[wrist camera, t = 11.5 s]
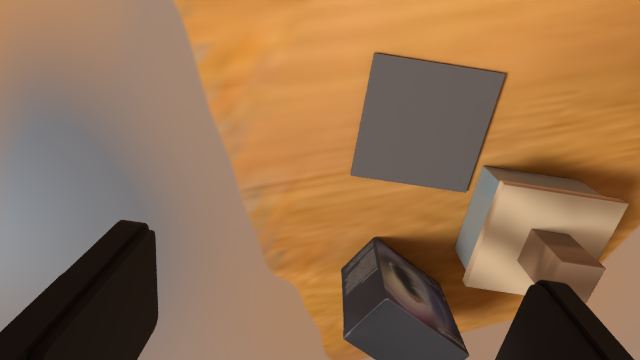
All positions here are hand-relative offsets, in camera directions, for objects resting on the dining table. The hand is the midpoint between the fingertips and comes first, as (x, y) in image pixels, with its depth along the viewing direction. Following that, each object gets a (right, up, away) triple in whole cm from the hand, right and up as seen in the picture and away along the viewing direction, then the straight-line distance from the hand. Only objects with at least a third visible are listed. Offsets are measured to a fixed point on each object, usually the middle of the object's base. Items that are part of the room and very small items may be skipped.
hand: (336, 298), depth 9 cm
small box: (+8, -8, +34) cm, 36 cm away
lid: (+20, -3, +26) cm, 33 cm away
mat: (+10, +8, +27) cm, 30 cm away
